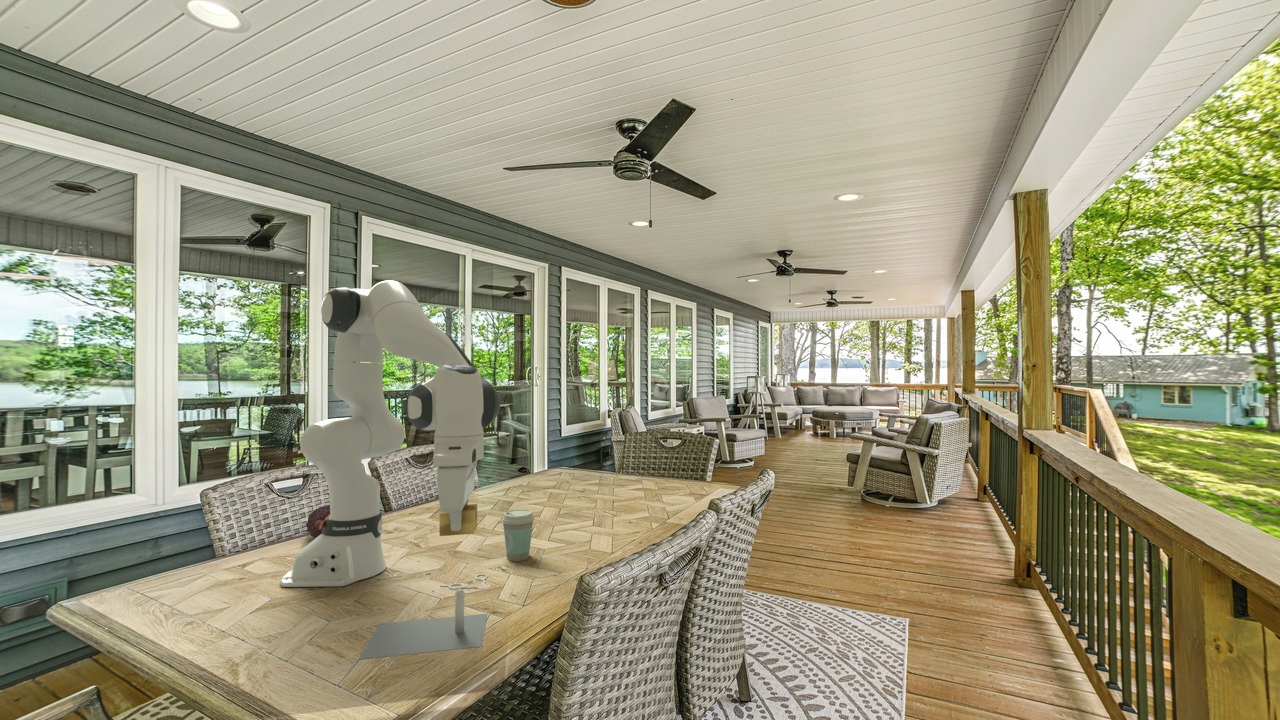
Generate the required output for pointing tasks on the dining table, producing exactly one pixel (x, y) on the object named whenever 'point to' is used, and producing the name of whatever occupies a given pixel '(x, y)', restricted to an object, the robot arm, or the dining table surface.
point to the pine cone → (317, 520)
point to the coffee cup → (517, 533)
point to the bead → (467, 521)
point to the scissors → (470, 587)
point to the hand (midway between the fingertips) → (459, 524)
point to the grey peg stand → (428, 634)
